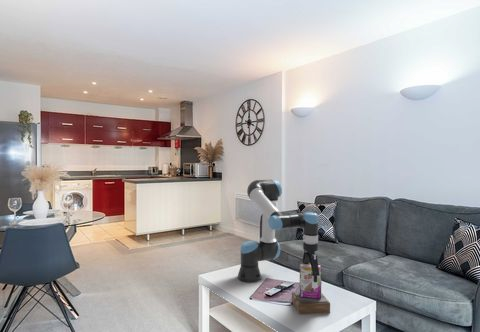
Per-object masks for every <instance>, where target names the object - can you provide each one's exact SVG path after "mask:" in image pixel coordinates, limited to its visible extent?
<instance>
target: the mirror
mask: <svg viewBox="0 0 480 332" xmlns="http://www.w3.org/2000/svg"><path fill="white" fill-rule="evenodd" d="M291 302H292V304H293V306H294V308H295V309H296V312H297V313H298V314H299V315H314V314H330V313H331V302H330V301H329V300H328V298H327V297H326V296H325V295H324V294H323V293H322V292H321V299H315V298H303V297H300V292H299V291H293V292H291Z"/></svg>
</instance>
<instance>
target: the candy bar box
mask: <svg viewBox="0 0 480 332" xmlns="http://www.w3.org/2000/svg"><path fill="white" fill-rule="evenodd" d="M318 268H319V274H320V275H319V276H318V287H317V288H312V269H311V264H310V263H309V264H303V263H299V291H298V292H300V297H303V298H315V299H321V293H322V265H321V264H318Z"/></svg>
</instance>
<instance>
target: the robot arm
mask: <svg viewBox="0 0 480 332" xmlns="http://www.w3.org/2000/svg"><path fill="white" fill-rule="evenodd" d="M246 189H247V190H246V192H247V196H248V198H249V199H250V200H251V201H252V202H254V203H255V205H257V207H258V208H259V209H260V210H261V211H262V217H261V218H262V223H261V224H262V225H261V229H262V230H261V237H260V238H259V242H258V241H257V240H248V241H245V242H243V243H242V244H241V245H240V267H239V269H238V274H237V279H238V280H239V281H241V282H243V283H256V282H259V281H260V280H261V279H262V274H261V271H260V268H259V262H263V261H272V260H276V259H277V258H279V256H280V253H281V246H280V243H279V242H278V239H277V238H276V237H275V236H276V230H277V231H279V230H286V229H298V228H299V229H302V230H303V233H302V235H303V236H302V241H303V243H302V247H303V248H302V249H303V255H302V261H301V263H302V264H309V265H311V269H312V288H317V287H318V276H319V275H320V274H319V268H318V265H319V263H318V262H319V261H318V255H317V254H316V253H315V252H317V251H318V249H319V215H318V213H315V212H311V211H309V212H304V213H300V212H293V213H291V214H283V213H282V212H281V211H280V210H279V209H278V207H277V206H276V203H277V202H279V201H278V200H279V198H280V197H281V196H282V195H283V192H282V191H283V189H282V186H281V184H280V182H279V181H278V180H276V179H256V180H253V181H251V182H250V183H249V185H248V187H247V188H246Z"/></svg>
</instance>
